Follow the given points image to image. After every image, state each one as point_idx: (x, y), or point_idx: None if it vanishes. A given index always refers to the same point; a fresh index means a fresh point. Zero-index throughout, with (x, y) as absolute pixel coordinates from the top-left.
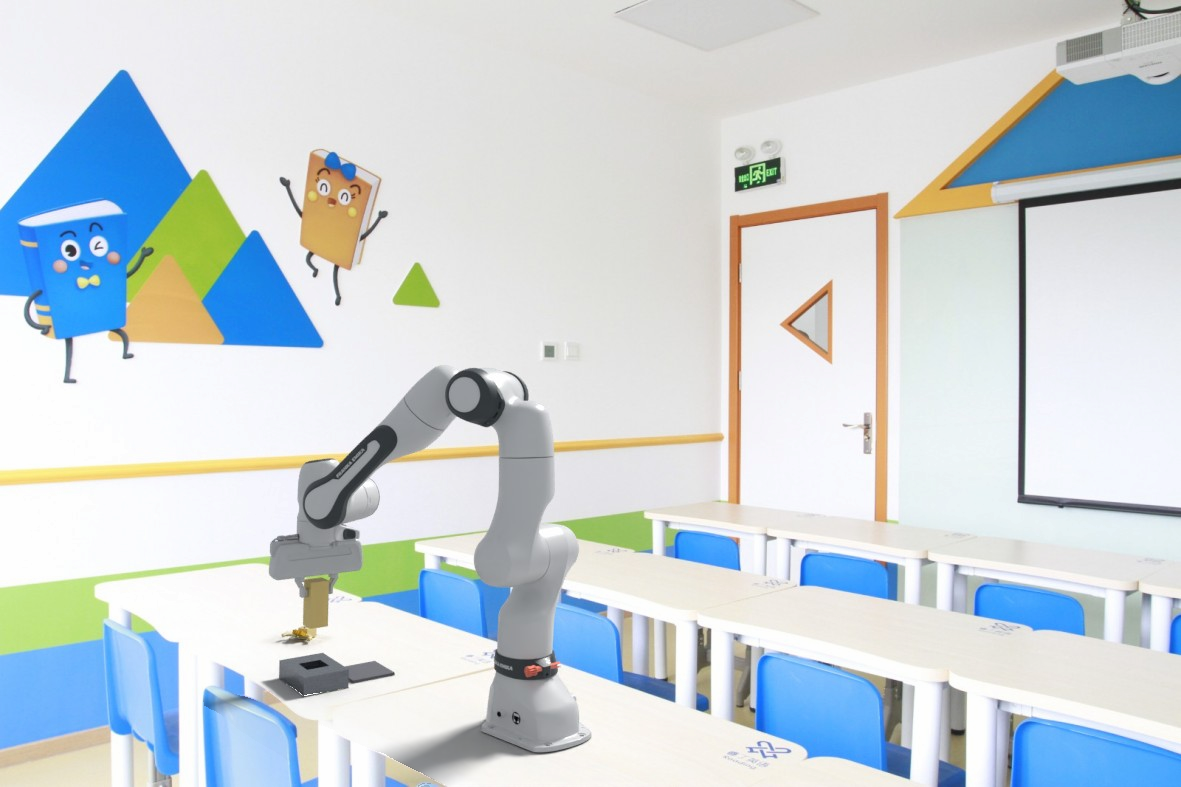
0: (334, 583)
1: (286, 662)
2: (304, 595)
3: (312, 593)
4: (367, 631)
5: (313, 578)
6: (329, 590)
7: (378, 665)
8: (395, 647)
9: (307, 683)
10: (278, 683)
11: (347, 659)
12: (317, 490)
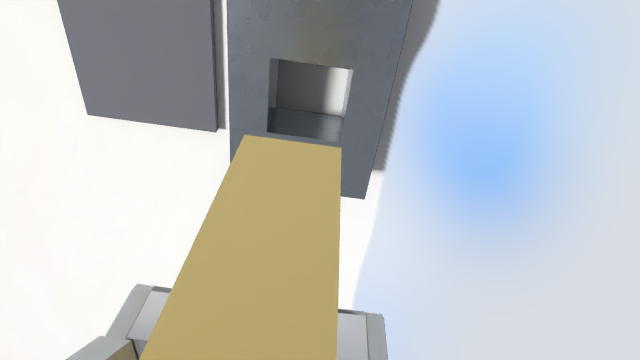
0: (78, 355)
1: (361, 172)
2: (369, 322)
3: (324, 307)
4: (56, 294)
5: None
6: (153, 308)
7: (87, 71)
8: (7, 182)
9: None
10: (385, 138)
11: (153, 181)
12: None
